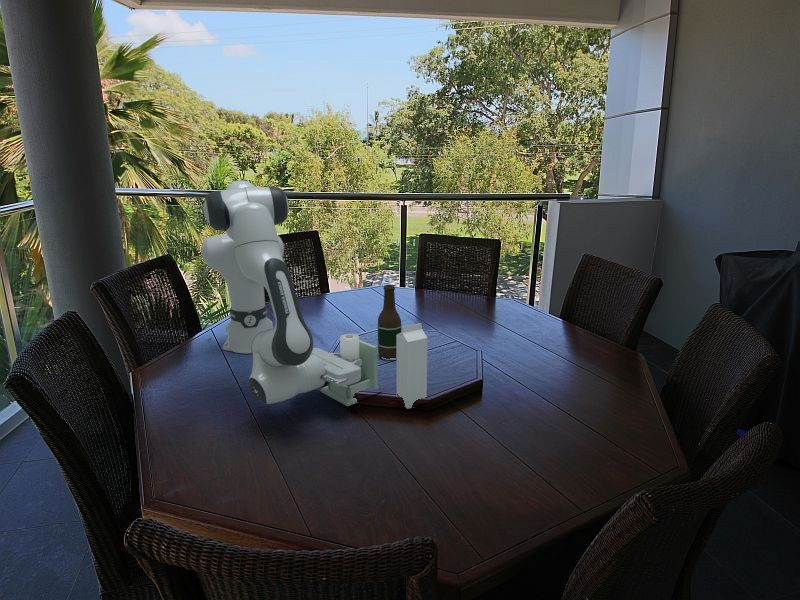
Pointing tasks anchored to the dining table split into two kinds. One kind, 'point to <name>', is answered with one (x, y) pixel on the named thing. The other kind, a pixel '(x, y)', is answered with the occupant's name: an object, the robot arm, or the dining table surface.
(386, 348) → the beer bottle
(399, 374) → the milk
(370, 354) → the holder
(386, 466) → the dining table surface
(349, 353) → the roll
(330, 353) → the robot arm
